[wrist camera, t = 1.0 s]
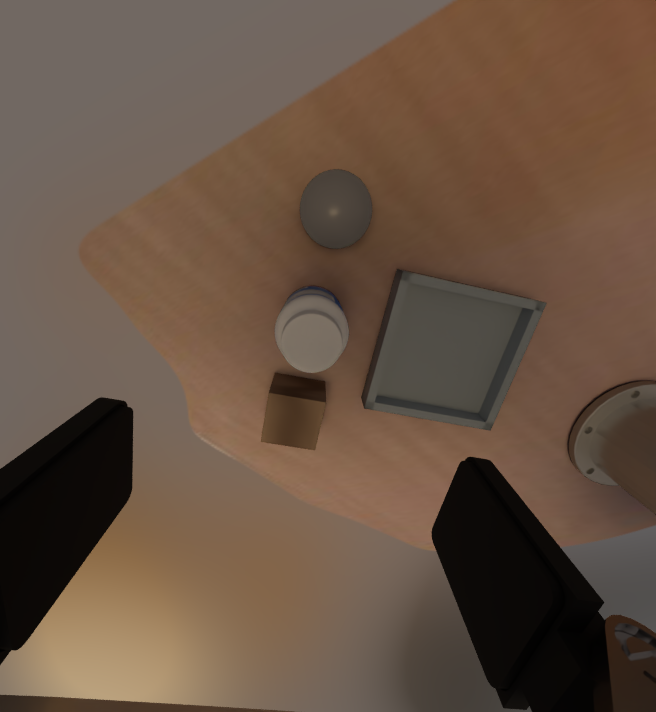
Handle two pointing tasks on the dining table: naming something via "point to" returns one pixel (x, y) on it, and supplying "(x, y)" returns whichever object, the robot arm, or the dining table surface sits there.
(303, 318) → the pill bottle
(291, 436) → the walnut block
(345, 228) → the smooth grey pebble
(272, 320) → the dining table surface
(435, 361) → the slate tray
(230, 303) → the dining table surface
